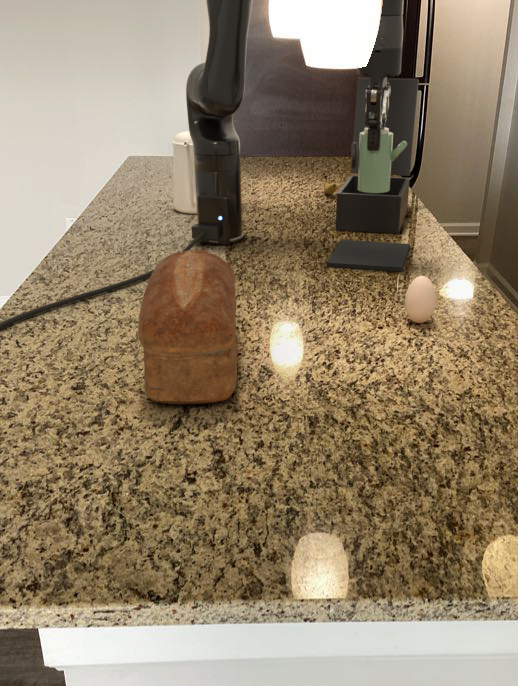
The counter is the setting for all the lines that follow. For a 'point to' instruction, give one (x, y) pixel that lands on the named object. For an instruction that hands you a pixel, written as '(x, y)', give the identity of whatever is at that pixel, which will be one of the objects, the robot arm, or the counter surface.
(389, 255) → the mat
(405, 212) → the dark gray storage bin
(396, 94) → the storage bin lid
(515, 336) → the counter surface
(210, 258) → the bread
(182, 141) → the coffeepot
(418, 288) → the egg
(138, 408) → the counter surface
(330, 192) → the banana
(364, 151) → the kettle
